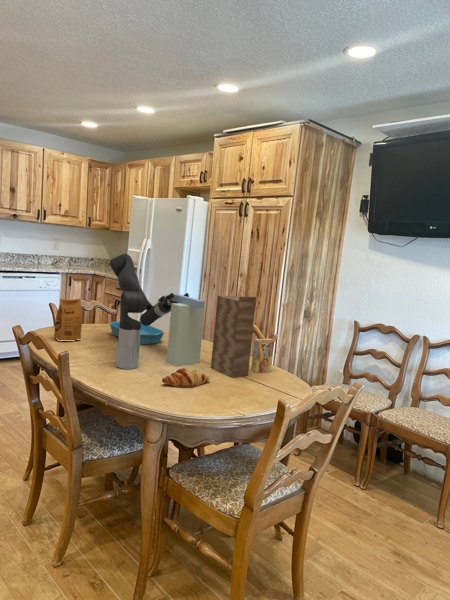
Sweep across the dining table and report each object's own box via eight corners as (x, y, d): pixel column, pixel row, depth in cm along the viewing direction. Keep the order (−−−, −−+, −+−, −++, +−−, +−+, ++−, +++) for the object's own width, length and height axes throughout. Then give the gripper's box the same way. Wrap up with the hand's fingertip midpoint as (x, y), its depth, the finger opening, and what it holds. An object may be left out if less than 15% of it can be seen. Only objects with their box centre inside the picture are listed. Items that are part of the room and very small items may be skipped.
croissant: (205, 388, 180) (203, 369, 182) (217, 384, 172) (214, 364, 174) (158, 391, 169) (157, 371, 172) (168, 387, 161) (166, 366, 164)
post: (247, 375, 191) (256, 297, 187) (232, 378, 185) (240, 297, 181) (225, 365, 203) (233, 291, 199) (210, 367, 198) (218, 291, 193)
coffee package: (52, 338, 223) (54, 297, 220) (75, 337, 231) (77, 297, 228) (58, 343, 215) (60, 300, 212) (82, 341, 223) (85, 300, 220)
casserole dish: (170, 345, 235) (171, 332, 234) (134, 348, 220) (135, 334, 219) (137, 331, 262) (137, 319, 261) (103, 333, 248) (103, 321, 247)
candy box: (266, 369, 204) (269, 338, 203) (271, 371, 201) (274, 340, 199) (250, 370, 200) (254, 338, 198) (255, 373, 196) (259, 340, 194)
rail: (203, 308, 192) (204, 301, 191) (198, 308, 190) (198, 301, 189) (176, 300, 209) (177, 293, 209) (171, 300, 207) (171, 293, 207)
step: (199, 363, 204) (204, 305, 200) (174, 366, 195) (179, 305, 192) (191, 359, 209) (196, 303, 206) (166, 361, 200) (171, 303, 197)
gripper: (150, 299, 212) (166, 287, 200) (174, 299, 221) (191, 287, 209) (153, 313, 210) (169, 302, 198) (177, 313, 219) (194, 302, 207)
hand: (180, 294), depth 204 cm, fingers open, 8 cm apart
